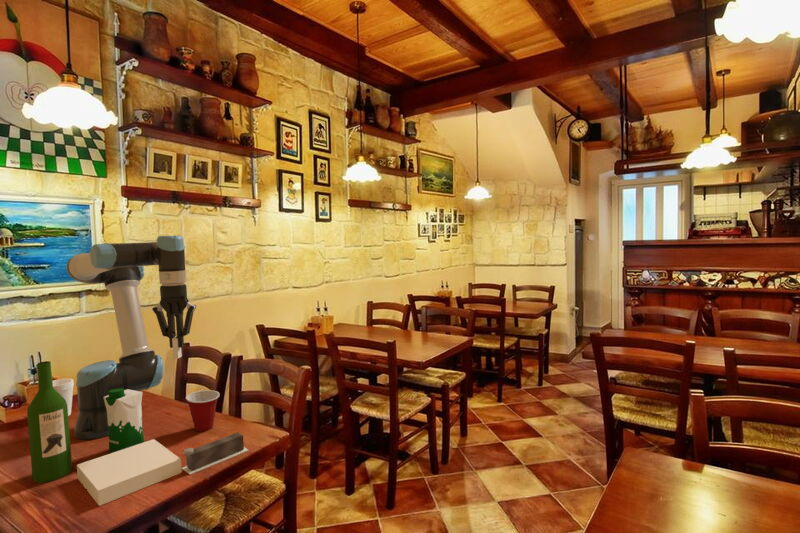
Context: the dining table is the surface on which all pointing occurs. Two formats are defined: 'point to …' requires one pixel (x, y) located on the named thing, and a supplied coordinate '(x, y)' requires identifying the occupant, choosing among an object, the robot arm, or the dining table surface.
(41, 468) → the wine bottle
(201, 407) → the plastic cup
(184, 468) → the mat
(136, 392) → the milk carton
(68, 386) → the foam cup
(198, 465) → the dark grey block
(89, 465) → the cream flat square box
